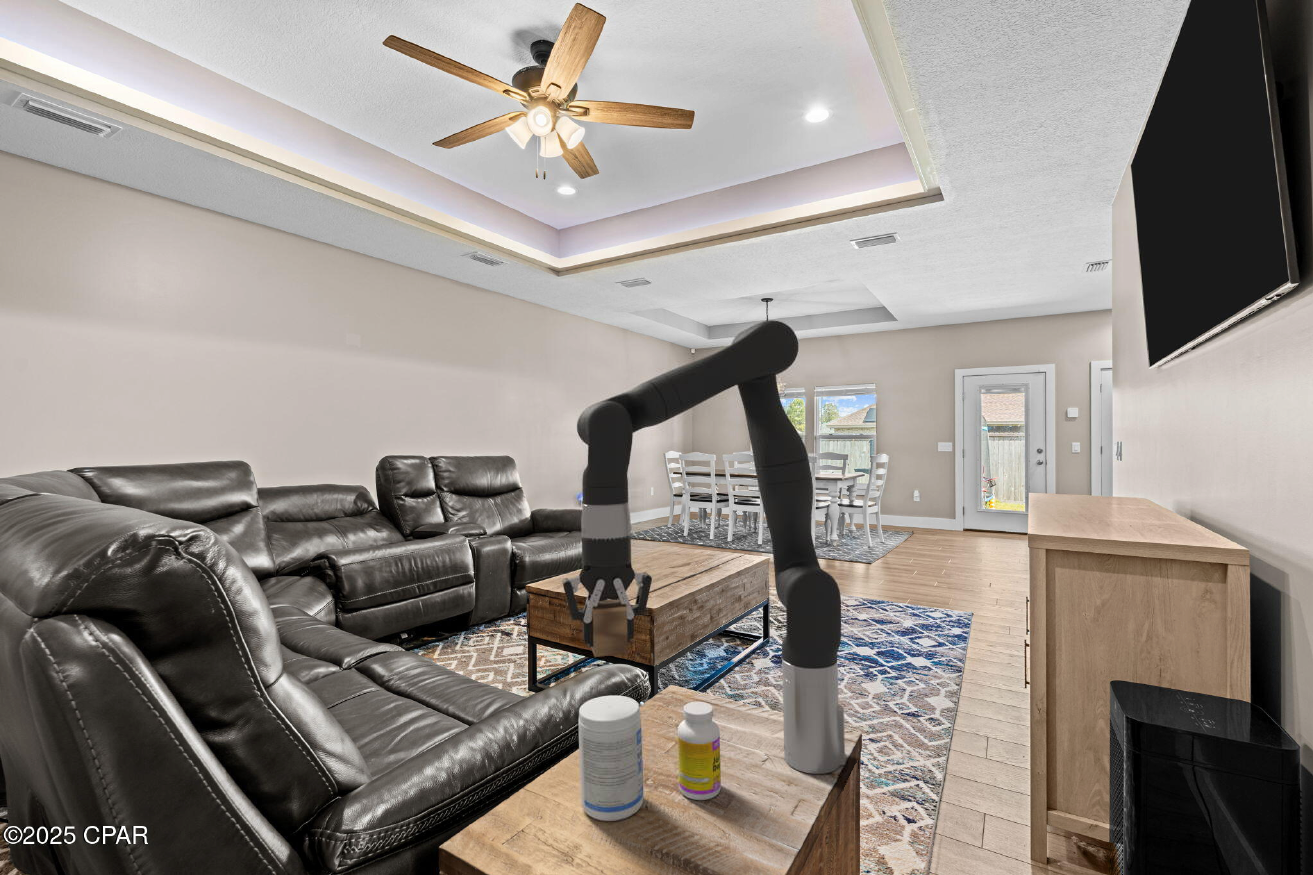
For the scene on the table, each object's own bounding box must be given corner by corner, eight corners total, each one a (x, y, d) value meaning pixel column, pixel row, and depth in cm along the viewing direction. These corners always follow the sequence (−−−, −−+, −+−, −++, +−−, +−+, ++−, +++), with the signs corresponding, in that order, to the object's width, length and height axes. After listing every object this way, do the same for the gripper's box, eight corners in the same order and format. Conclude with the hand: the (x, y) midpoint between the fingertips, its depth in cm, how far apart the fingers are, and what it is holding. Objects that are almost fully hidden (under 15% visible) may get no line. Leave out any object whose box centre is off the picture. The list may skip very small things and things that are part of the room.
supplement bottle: (719, 804, 90) (716, 718, 90) (675, 800, 91) (673, 715, 91) (723, 779, 96) (721, 700, 96) (682, 775, 98) (680, 697, 98)
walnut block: (622, 642, 94) (621, 598, 94) (627, 653, 89) (626, 606, 89) (590, 645, 93) (589, 600, 93) (594, 657, 88) (593, 609, 88)
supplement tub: (654, 811, 88) (652, 712, 89) (595, 832, 84) (593, 728, 84) (626, 779, 97) (624, 689, 97) (571, 797, 92) (569, 702, 93)
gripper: (646, 527, 96) (649, 632, 96) (557, 531, 93) (559, 640, 93) (657, 533, 89) (659, 647, 89) (560, 539, 86) (563, 657, 86)
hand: (608, 643), depth 91 cm, fingers closed on walnut block, 5 cm apart
